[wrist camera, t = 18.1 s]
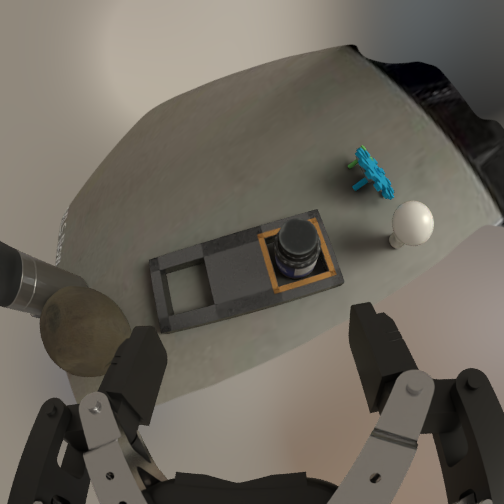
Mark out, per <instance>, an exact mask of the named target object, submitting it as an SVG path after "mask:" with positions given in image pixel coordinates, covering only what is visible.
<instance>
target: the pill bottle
mask: <svg viewBox="0 0 504 504" xmlns="http://www.w3.org/2000/svg"><path fill="white" fill-rule="evenodd" d="M320 250H321V241H320V238H319V235H318V233H317V230H316V228H315V226H314V225H313V224H312V223H311V222H310V221H308V220H306V219H303V218H293V219H290V220H288V221H286V222H285V223H284V224H283V225H282V227H281V228H280V230H279V231H278V233H277V235H276V237H275V240H274V251H275V258H276V265H277V267H278V270H279V271H280V272H281V273H282V274H283V275H284V276H287V277H288V278H290V279H301V278H304V277H306V276H308V275H309V274H310V273H311V272H312V270H313V269H314V267H315V264H316V262H317V259H318V256H319V254H320Z"/></svg>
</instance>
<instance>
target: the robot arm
mask: <svg viewBox="0 0 504 504" xmlns="http://www.w3.org/2000/svg"><path fill="white" fill-rule="evenodd" d="M67 286H81V287H87V288H88V286H87V284H86V282H85V281H84V279H83V278H81V277H80V276H77V275H75V274H72V273H70V272H67V271H65V270H63V269H60V268H58V267H55V266H53V265H51V264H48V263H46V262H44V261H41V260H39V259H37V258H34V257H32V256H30V255H28V254H25V253H23V252H21V251H19V250H17V249H14V248H12V247H10V246H8V245H6V244H5V243H2V242H1V241H0V306H2V307H6V308H10V309H14V310H18V311H22V312H27V313H30V314H31V316H32V317H36V318H40V316H41V313H42V310H43V308H44V305H45V304H46V302H47V300H48V299H49V298H50V297H51V296H52V295H53V294H54V293H56V292H57V291H58V290H60V289H61V288H64V287H67ZM349 344H350V348H351V351H352V354H353V357H354V360H355V364H356V367H357V370H358V373H359V376H360V379H361V383H362V386H363V390H364V393H365V397H366V400H367V404H368V407H369V411H370V413H372V412H377V411H379V414H380V418H379V420H378V422H377V424H376V426H375V428H374V430H373V431H372V433H371V435H370V436H369V438H368V440H367V442H366V444H365V445H364V447H363V449H362V451H361V452H360V454H359V456H358V458H357V459H356V461H355V463H354V464H353V466H352V468H351V469H350V471H349V472H348V474H347V475H346V477H345V478H344V480H343V482H342V483H341V484H340V486H337V485H335V484H332V483H330V482H328V481H324V480H321V479H316V478H307V477H306V472H299V473H290V474H278V475H270V476H267V477H263V478H259V479H255V480H250V481H246V482H241V483H235V482H230V481H227V480H222V479H219V478H215V477H212V476H208V475H203V474H191V473H181V472H176V476H175V479H170V480H168V479H167V478H166V477H165V475H163V473H162V472H161V471H160V470H159V469H158V467H157V466H156V464H155V462H154V460H153V459H152V457H151V455H150V453H149V451H148V449H147V447H146V445H145V443H144V441H143V439H142V437H141V435H140V433H139V432H138V426H139V425H147V426H149V424H150V420H151V417H152V413H153V410H154V406H155V403H156V399H157V396H158V392H159V389H160V385H161V382H162V379H163V375H164V372H165V369H166V366H167V353H166V350H165V348H164V346H163V344H162V342H161V340H160V338H159V336H158V334H157V332H156V330H155V328H154V327H153V326H137V327H135V328H134V329H133V331H132V333H131V336H130V338H126V339H125V340H124V341H123V342H122V344H121V345H120V346H119V347H118V349H117V351H116V353H115V355H114V357H113V359H112V361H111V365H109V368H108V370H107V372H106V374H105V376H104V378H103V381H102V383H101V385H100V387H99V390H98V391H97V392H92V393H90V394H88V395H86V396H85V397H84V398H83V399H82V401H81V402H80V404H75V405H68V406H66V405H65V404H64V403H63V402H62V401H61V400H60V399H58V398H51V399H49V400H47V401H46V402H45V403H44V404H43V405H42V407H41V409H40V411H39V413H38V416H37V418H36V420H35V423H34V425H33V428H32V430H31V432H30V435H29V437H28V440H27V443H26V445H25V448H24V451H23V453H22V456H21V459H20V462H19V465H18V468H17V472H16V474H15V478H14V481H13V485H12V488H11V492H10V496H9V499H8V503H7V504H85V503H86V498H87V493H88V489H89V484H90V480H91V482H92V485H93V487H94V490H95V493H96V495H97V498H98V500H99V503H100V504H390V503H391V502H392V500H393V498H394V496H395V495H396V493H397V491H398V489H399V487H400V485H401V483H402V481H403V479H404V477H405V475H406V473H407V471H408V469H409V467H410V465H411V462H412V460H413V458H414V455H415V453H416V450H417V446H418V444H417V440H418V437H419V435H420V434H427V433H432V434H433V438H434V442H435V445H436V449H437V453H438V457H439V461H440V465H441V469H442V474H443V478H444V483H445V488H446V493H447V498H448V504H504V412H503V410H502V408H501V405H500V403H499V401H498V399H497V396H496V394H495V392H494V390H493V388H492V386H491V384H490V382H489V380H488V378H487V376H486V375H485V374H484V373H483V372H482V371H480V370H478V369H474V368H469V369H465V370H463V371H462V372H461V373H460V374H459V375H458V377H457V378H456V379H442V380H437V379H432V378H431V377H430V376H429V375H428V374H427V373H425V372H423V371H420V370H419V369H418V368H417V366H416V363H415V361H414V359H413V358H412V355H411V353H410V351H409V349H408V347H407V345H406V343H405V341H404V340H403V339H402V336H401V334H400V332H399V331H398V328H397V326H396V325H395V322H394V321H393V319H391V318H390V317H389V316H387V315H386V314H385V313H384V312H383V313H378V314H376V312H375V310H374V308H373V306H372V304H371V303H370V302H367V303H361V304H356V305H352V306H351V310H350V323H349ZM63 440H65V441H66V442H67V443H68V445H67V449H66V452H65V455H64V458H63V461H62V465H61V468H60V467H59V465H58V463H57V456H58V453H59V450H60V447H61V444H62V441H63Z"/></svg>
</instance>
